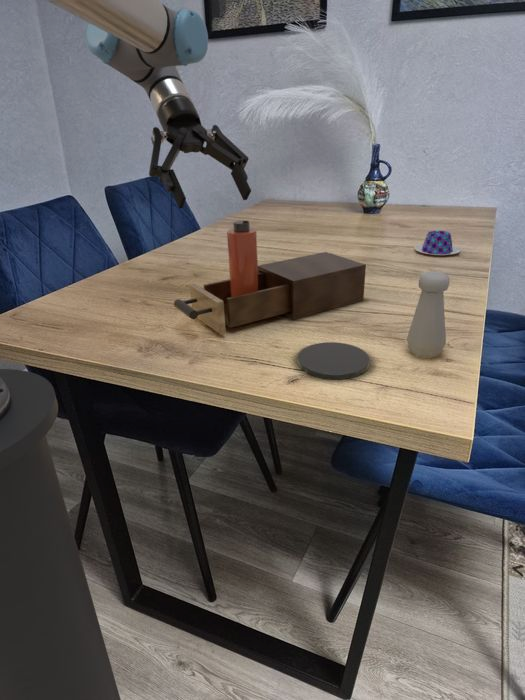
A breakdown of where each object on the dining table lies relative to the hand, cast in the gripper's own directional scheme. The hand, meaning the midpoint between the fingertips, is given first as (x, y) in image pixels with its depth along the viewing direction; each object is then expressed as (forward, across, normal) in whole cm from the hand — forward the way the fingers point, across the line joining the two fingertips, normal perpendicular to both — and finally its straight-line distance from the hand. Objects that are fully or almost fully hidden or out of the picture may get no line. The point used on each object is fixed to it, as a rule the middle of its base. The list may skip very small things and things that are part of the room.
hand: (216, 199), depth 88 cm
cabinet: (+21, -15, -8) cm, 27 cm away
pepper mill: (+20, 0, -7) cm, 21 cm away
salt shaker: (+42, -16, +13) cm, 47 cm away
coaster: (+38, -2, +9) cm, 39 cm away
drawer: (+21, +2, -7) cm, 22 cm away
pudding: (+14, -66, -16) cm, 70 cm away
